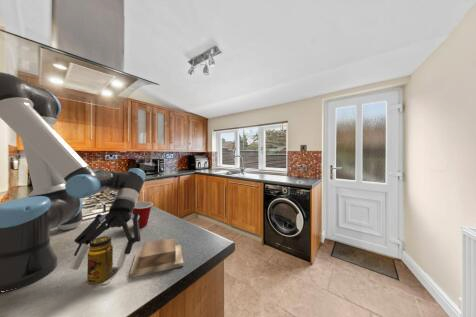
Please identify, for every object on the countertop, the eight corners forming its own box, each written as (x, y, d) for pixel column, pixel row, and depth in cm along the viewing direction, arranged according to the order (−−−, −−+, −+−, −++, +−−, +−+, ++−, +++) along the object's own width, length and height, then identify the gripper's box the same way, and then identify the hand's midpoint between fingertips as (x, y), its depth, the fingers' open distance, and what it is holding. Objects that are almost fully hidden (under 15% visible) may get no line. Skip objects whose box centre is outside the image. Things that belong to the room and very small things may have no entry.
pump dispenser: (55, 227, 88) (56, 198, 88) (82, 222, 95) (83, 195, 95) (52, 234, 80) (52, 202, 80) (81, 229, 87) (82, 199, 87)
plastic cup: (136, 231, 85) (136, 207, 85) (125, 226, 91) (126, 204, 91) (156, 224, 94) (157, 203, 94) (145, 220, 100) (146, 200, 100)
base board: (129, 277, 53) (129, 261, 53) (136, 255, 65) (136, 242, 65) (183, 265, 59) (183, 251, 59) (180, 247, 71) (180, 235, 71)
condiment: (79, 287, 48) (80, 246, 48) (97, 268, 57) (98, 233, 57) (108, 284, 50) (108, 243, 50) (121, 266, 58) (122, 231, 58)
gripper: (159, 206, 70) (143, 267, 55) (95, 208, 67) (59, 273, 52) (155, 197, 65) (136, 261, 50) (85, 197, 62) (42, 266, 46)
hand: (97, 267), depth 51 cm, fingers open, 12 cm apart
